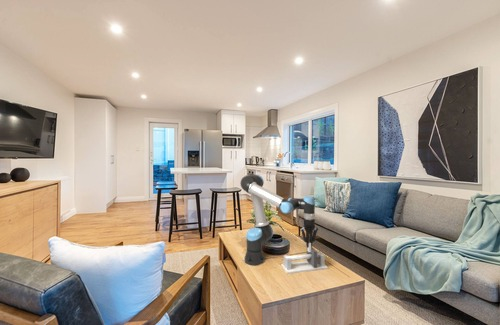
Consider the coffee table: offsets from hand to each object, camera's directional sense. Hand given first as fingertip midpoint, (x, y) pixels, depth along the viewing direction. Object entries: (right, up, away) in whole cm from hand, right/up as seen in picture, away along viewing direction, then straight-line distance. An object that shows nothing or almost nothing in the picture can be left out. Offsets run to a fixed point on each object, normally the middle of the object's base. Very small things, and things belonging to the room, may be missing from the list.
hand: (309, 251), depth 165 cm
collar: (+2, -9, +1) cm, 9 cm away
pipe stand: (-4, -11, 0) cm, 12 cm away
